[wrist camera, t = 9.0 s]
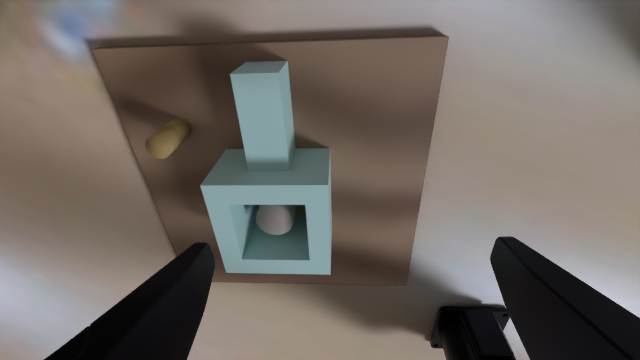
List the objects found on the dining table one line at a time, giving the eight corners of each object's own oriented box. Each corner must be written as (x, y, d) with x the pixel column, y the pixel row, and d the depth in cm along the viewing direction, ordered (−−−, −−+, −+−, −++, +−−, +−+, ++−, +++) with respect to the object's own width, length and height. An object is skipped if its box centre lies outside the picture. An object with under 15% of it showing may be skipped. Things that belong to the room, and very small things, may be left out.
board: (404, 278, 27) (413, 318, 24) (190, 274, 28) (170, 312, 25) (444, 34, 16) (471, 45, 13) (101, 47, 18) (45, 59, 14)
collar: (331, 228, 23) (330, 274, 20) (244, 228, 24) (226, 272, 20) (328, 59, 17) (325, 78, 13) (206, 63, 17) (169, 82, 13)
